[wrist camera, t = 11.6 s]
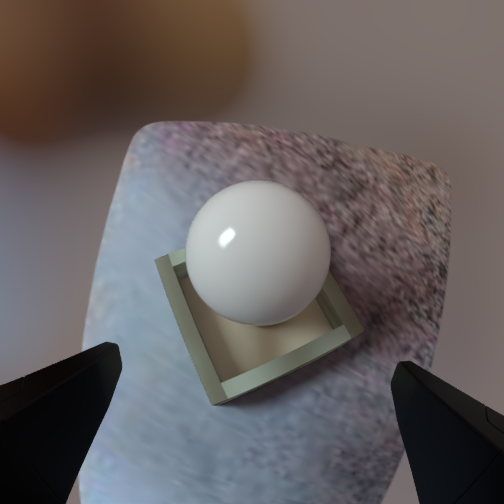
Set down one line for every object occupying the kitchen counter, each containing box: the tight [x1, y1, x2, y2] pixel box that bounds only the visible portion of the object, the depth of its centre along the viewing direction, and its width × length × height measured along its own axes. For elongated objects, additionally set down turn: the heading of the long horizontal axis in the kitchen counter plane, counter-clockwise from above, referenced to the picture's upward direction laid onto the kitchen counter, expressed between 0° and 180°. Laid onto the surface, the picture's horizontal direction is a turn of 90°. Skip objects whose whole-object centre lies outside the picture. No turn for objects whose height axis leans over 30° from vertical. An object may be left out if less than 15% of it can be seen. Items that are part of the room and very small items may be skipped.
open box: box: [155, 248, 365, 406], centre depth 20 cm, size 10×10×3 cm
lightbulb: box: [185, 180, 331, 326], centre depth 16 cm, size 6×6×11 cm
